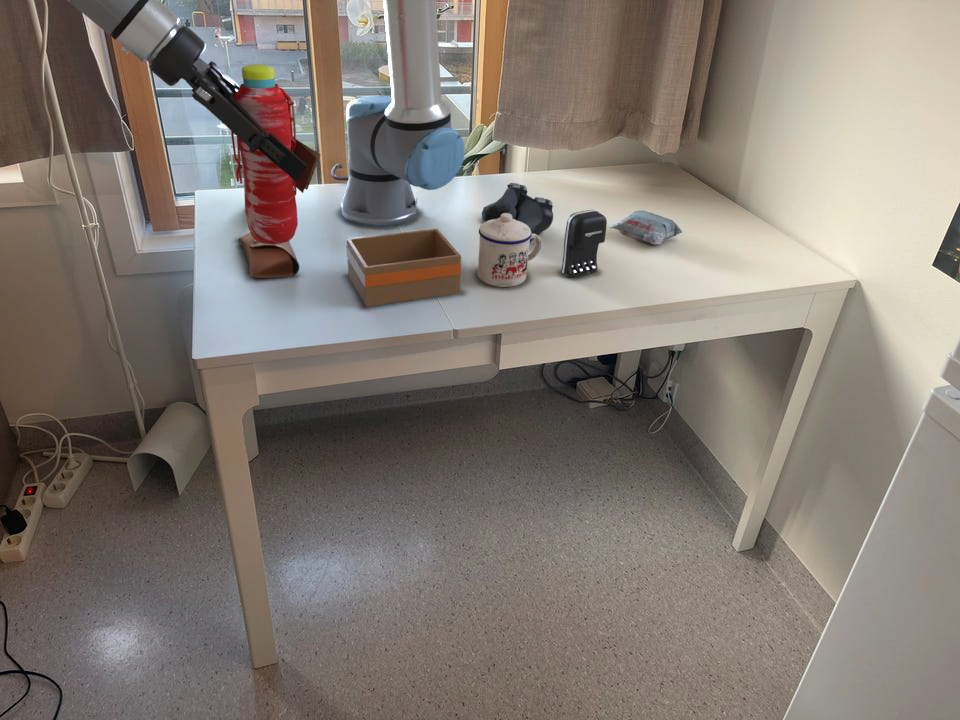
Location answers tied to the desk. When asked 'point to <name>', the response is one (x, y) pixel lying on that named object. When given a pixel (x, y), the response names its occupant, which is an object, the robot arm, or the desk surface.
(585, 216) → the battery charger
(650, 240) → the packaged food
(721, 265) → the desk surface
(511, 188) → the binoculars
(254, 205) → the water bottle
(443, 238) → the wooden box
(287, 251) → the sunglasses case
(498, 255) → the teacup with lid
